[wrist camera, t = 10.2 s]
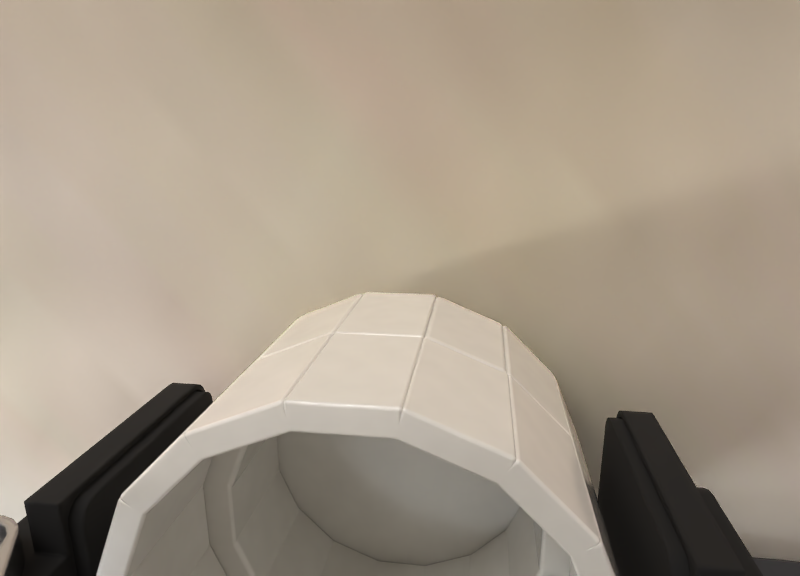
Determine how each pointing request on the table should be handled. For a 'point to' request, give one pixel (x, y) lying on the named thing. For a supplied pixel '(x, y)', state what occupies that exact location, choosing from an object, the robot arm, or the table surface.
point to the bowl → (373, 459)
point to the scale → (777, 567)
